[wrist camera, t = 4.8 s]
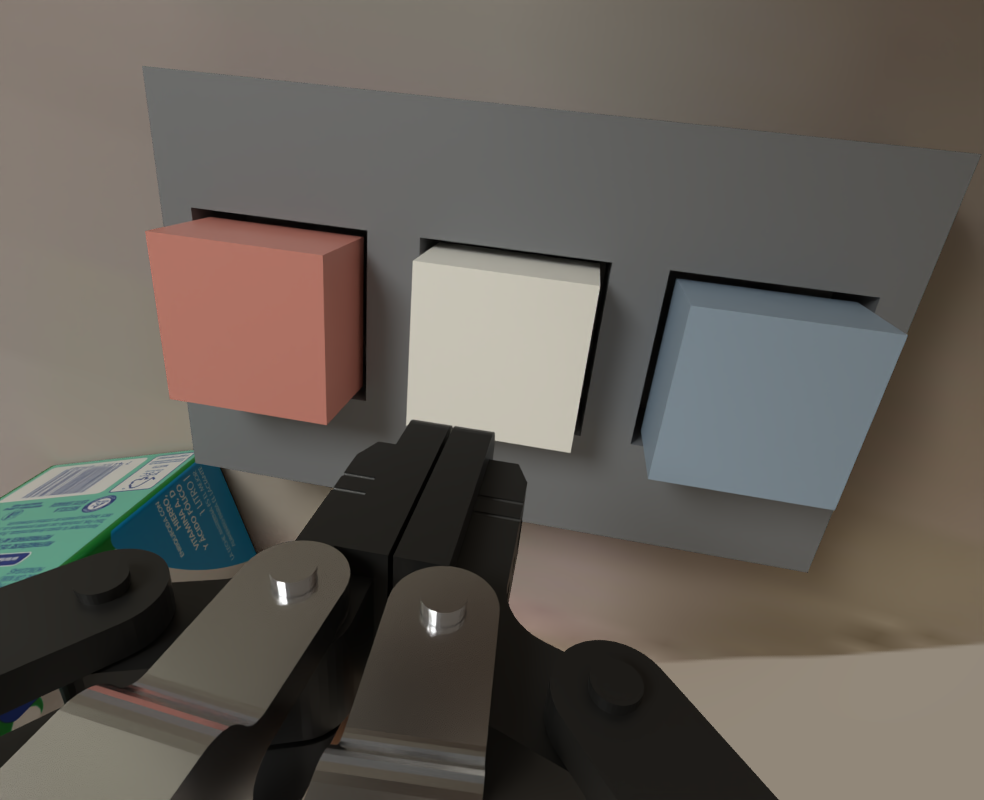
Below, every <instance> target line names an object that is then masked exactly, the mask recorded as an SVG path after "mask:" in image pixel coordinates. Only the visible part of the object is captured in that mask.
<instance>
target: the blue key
mask: <svg viewBox="0 0 984 800" xmlns="http://www.w3.org/2000/svg"><path fill="white" fill-rule="evenodd" d="M907 336H908V335H907V334H905V333H904V332H902V331H901V330H899V329H898V328H896V327H895V326H893V325H892V324H890V323H889V322H887V321H885V320H884V319H882V318H881V317H879V316H878V315H876V314H875V313H873V312H872V311H870V310H869V309H867V308H866V307H864V306H863V305H861V304H860V303H858V302H853V301H845V300H838V299H830V298H822V297H815V296H807V295H800V294H792V293H785V292H777V291H769V290H762V289H754V288H747V287H739V286H732V285H724V284H716V283H709V282H701V281H694V280H686V279H679V278H676V281H675V286H674V290H673V294H672V298H671V303H670V307H669V311H668V316H667V320H666V324H665V329H664V333H663V337H662V342H661V346H660V350H659V355H658V359H657V363H656V367H655V372H654V376H653V380H652V385H651V389H650V393H649V398H648V402H647V406H646V411H645V415H644V419H643V423H642V428H641V435H642V441H643V448H644V455H645V462H646V469H647V476H648V479H650V480H656V481H662V482H668V483H674V484H680V485H686V486H692V487H698V488H704V489H710V490H716V491H722V492H728V493H734V494H740V495H746V496H752V497H758V498H764V499H770V500H776V501H782V502H788V503H794V504H799V505H805V506H811V507H817V508H823V509H829V510H835V509H836V506H837V504H838V502H839V499H840V497H841V494H842V492H843V490H844V487H845V485H846V482H847V480H848V478H849V475H850V473H851V471H852V468H853V466H854V463H855V461H856V459H857V456H858V454H859V451H860V449H861V447H862V444H863V442H864V439H865V437H866V435H867V432H868V430H869V427H870V425H871V423H872V420H873V418H874V415H875V413H876V411H877V408H878V406H879V403H880V401H881V399H882V396H883V394H884V391H885V389H886V387H887V384H888V382H889V379H890V377H891V375H892V372H893V370H894V367H895V365H896V363H897V360H898V358H899V355H900V353H901V351H902V348H903V346H904V343H905V341H906V339H907Z"/></svg>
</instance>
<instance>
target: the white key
mask: <svg viewBox="0 0 984 800" xmlns="http://www.w3.org/2000/svg"><path fill="white" fill-rule="evenodd" d="M599 290H600V263H596V262H588V261H581V260H573V259H565V258H558V257H550V256H543V255H535V254H527V253H520V252H512V251H504V250H497V249H489V248H482V247H474V246H466V245H459V244H451V243H444V242H439V243H437V244H436V245H435V246H433V247H432V248H430V249H429V250H427V251H426V252H425V253H423V254H422V255H420V256H419V257H417V258H416V259H415V260H413V268H412V292H411V317H410V341H409V366H408V390H407V415H406V426H407V425H408V424H409V422H410V421H411V420H413V419H414V420H420V421H426V422H433V423H439V424H445V425H452V426H453V427H454V426H459V427H465V428H472V429H478V430H484V431H491V432H495V441H501V442H507V443H513V444H519V445H525V446H531V447H537V448H543V449H549V450H555V451H561V452H567V453H571V447H572V442H573V436H574V430H575V425H576V419H577V414H578V408H579V402H580V397H581V391H582V386H583V380H584V374H585V369H586V363H587V357H588V352H589V346H590V341H591V335H592V329H593V324H594V318H595V313H596V307H597V301H598V296H599Z"/></svg>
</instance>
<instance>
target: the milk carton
mask: <svg viewBox="0 0 984 800" xmlns="http://www.w3.org/2000/svg"><path fill="white" fill-rule="evenodd" d="M117 549H142V550H146V551H150V552H153V553H155V554H157V555H159V556H160V557H162V558H163V559H164V560H165V562H166V563H167V565H168V567H169V571H170V576H171V581H172V582H186V581H202V580H218V579H228V578H233V577H234V576H235V575H236V573H237V572H238V571H239V570H240V569H241V568H242V567H243V566H244V565H245V564H246V563H247V562H248V561H249V560H250V559H251V558H252V557H254V556H255V555H257V554H256V552H255V550H254V547H253V545H252V542H251V540H250V538H249V535H248V533H247V531H246V528H245V526H244V524H243V521H242V519H241V517H240V514H239V512H238V509H237V507H236V505H235V502H234V500H233V498H232V495H231V493H230V491H229V488H228V486H227V483H226V481H225V479H224V476H223V474H222V472H221V469H220V467H215V466H210V465H204V464H198V463H195V456H194V450H189V451H180V452H171V453H162V454H153V455H144V456H135V457H126V458H117V459H108V460H99V461H90V462H81V463H72V464H63V465H54V466H51V467H50V468H48V469H46V470H45V471H43V472H41V473H40V474H38V475H36V476H35V477H33V478H32V479H30V480H28V481H27V482H25V483H23V484H22V485H20V486H19V487H17V488H15V489H14V490H12V491H10V492H9V493H7V494H5V495H4V496H2V497H1V498H0V587H3V586H6V585H9V584H12V583H15V582H17V581H20V580H23V579H26V578H29V577H31V576H34V575H37V574H40V573H43V572H46V571H48V570H51V569H54V568H57V567H60V566H63V565H65V564H68V563H71V562H74V561H77V560H79V559H82V558H85V557H88V556H91V555H94V554H97V553H101V552H105V551H110V550H117ZM62 706H64V702H63V699H62V696H61V694H60V691H59V689H57V690H54V691H52V692H50V693H48V694H46V695H44V696H41V697H39V698H37V699H35V700H33V701H31V702H28V703H26V704H24V705H22V706H20V707H18V708H16V709H13V710H11V711H9V712H7V713H5V714H3V715H0V736H2V735H4V734H6V733H8V732H11V731H13V730H15V729H17V728H19V727H21V726H23V725H25V724H27V723H29V722H31V721H33V720H35V719H38V718H40V717H42V716H44V715H46V714H48V713H50V712H52V711H54V710H56V709H58V708H60V707H62Z"/></svg>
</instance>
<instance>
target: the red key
mask: <svg viewBox="0 0 984 800" xmlns="http://www.w3.org/2000/svg"><path fill="white" fill-rule="evenodd" d="M145 233H146V239H147V246H148V253H149V260H150V266H151V273H152V280H153V287H154V294H155V300H156V307H157V314H158V321H159V328H160V334H161V341H162V348H163V355H164V361H165V368H166V375H167V382H168V389H169V395H170V399H174V400H180V401H186V402H191V403H197V404H203V405H209V406H215V407H221V408H227V409H233V410H239V411H245V412H251V413H257V414H263V415H269V416H275V417H281V418H287V419H293V420H299V421H305V422H311V423H317V424H323V425H327V424H328V423H329V422H330V421H331V420H332V419H333V418H334V417H335V416H336V415H337V413H338V412H339V411H340V410H341V409H342V408H343V407H344V406H345V405H346V404H347V403H348V402H349V400H350V399H351V398H352V397H353V396H354V395H355V394H356V393H357V392H358V391H359V390H360V389H361V387H362V386H363V260H364V237H361V236H353V235H346V234H338V233H330V232H323V231H315V230H308V229H300V228H293V227H285V226H278V225H270V224H262V223H255V222H247V221H240V220H232V219H225V218H217V217H207V218H203V219H198V220H193V221H189V222H184V223H180V224H175V225H171V226H166V227H162V228H157V229H153V230H148V231H145Z"/></svg>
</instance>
